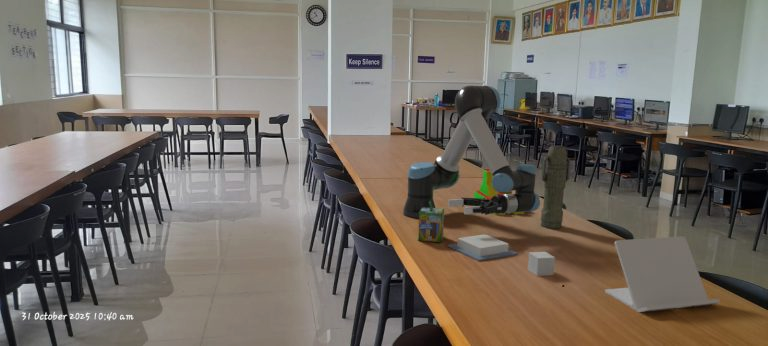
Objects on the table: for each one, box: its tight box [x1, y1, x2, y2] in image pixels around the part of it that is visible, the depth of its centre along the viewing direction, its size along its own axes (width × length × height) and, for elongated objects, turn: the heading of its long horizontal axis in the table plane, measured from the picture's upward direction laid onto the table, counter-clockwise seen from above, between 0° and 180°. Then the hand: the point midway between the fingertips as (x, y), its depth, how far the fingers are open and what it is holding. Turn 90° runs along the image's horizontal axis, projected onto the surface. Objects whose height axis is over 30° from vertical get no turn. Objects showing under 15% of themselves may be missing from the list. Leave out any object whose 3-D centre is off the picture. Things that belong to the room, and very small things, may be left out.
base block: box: [456, 233, 509, 256], centre depth 200 cm, size 13×13×3 cm
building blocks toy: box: [473, 169, 525, 216], centre depth 265 cm, size 19×25×18 cm
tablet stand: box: [604, 235, 721, 313], centre depth 158 cm, size 18×25×17 cm
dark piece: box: [540, 144, 572, 230], centre depth 234 cm, size 9×12×35 cm
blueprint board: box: [447, 243, 519, 262], centre depth 200 cm, size 18×18×1 cm
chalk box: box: [417, 201, 445, 243], centre depth 212 cm, size 9×9×15 cm
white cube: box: [527, 251, 556, 277], centre depth 179 cm, size 6×6×6 cm
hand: (456, 206), depth 214 cm, fingers open, 13 cm apart
